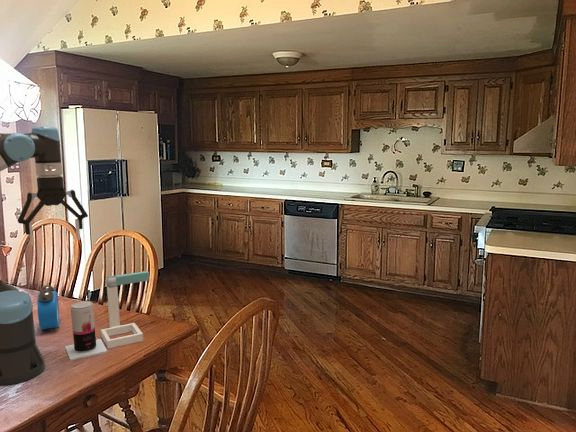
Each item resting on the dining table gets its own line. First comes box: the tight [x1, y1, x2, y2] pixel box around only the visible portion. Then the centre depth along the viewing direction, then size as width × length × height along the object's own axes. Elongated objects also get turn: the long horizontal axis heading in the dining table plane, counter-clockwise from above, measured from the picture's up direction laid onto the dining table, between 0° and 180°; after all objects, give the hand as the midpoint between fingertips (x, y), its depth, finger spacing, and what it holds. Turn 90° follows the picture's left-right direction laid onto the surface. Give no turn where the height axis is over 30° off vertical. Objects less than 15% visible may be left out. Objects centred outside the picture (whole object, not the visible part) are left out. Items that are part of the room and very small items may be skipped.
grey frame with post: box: [100, 285, 144, 350], centre depth 168 cm, size 11×18×16 cm, turn 31°
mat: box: [65, 338, 108, 362], centre depth 157 cm, size 11×11×1 cm
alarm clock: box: [36, 284, 60, 331], centre depth 175 cm, size 13×6×15 cm, turn 23°
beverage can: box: [70, 300, 96, 352], centre depth 156 cm, size 6×7×15 cm
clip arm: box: [105, 270, 150, 288], centre depth 175 cm, size 4×15×3 cm, turn 120°
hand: (55, 241), depth 157 cm, fingers open, 13 cm apart
